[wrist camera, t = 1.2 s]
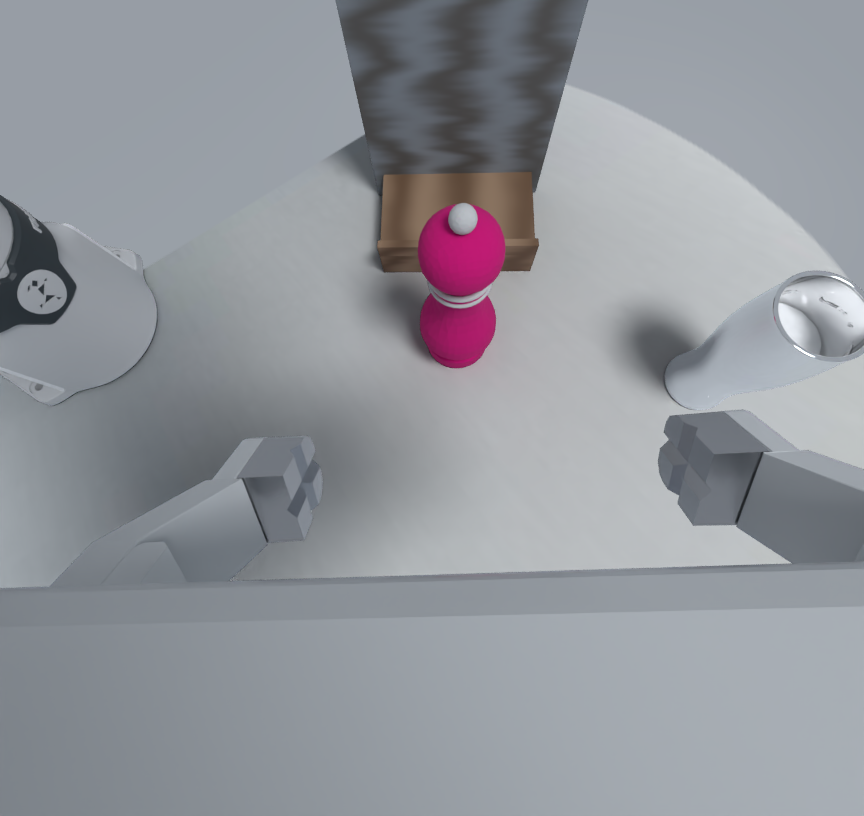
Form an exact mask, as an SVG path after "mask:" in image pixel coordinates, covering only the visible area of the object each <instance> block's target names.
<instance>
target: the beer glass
mask: <svg viewBox="0 0 864 816" xmlns="http://www.w3.org/2000/svg"><path fill="white" fill-rule="evenodd" d="M863 353H864V291H863V290H862V289H860V287H858V286H857V285H856V284H855V283H853V282H852V281H850V280H848V279H847V278H845V277H843V276H840V275H838V274H835V273H831V272H826V271H806V272H802V273H799V274H796V275H794V276H792V277H790V278H788V279H787V280H786V281H784V282H782V283H781V284H779V285H777V286H775V287H773V288H771V289H769V290H768V291H766V292H764V293H762V294H761V295H759V296H757V297H756V298H754V299H752V300H751V301H749V302H748V303H746V304H745V305H743V306H742V307H741V308H739V309H738V310H736V311H735V312H734V313H732V314H731V315H730V316H729V317H728V318H727V319H726V320H725V321H724V322H722V323H721V324H720V325H719V326H718V327H717V329H716V330H715V331H714V332H713V333H712V334H711V335H710V336H709V337H708V338H707V339H706V341H705V342H704V343H703V344H702V345H701V346H699V347H698V348H696V349H694V350H691V351H688V352H685V353H682V354H680V355H678V356H676V357H675V358H673V359H672V360H671V361H670V363H669V364H668V366H667V368H666V371H665V376H664V379H665V385H666V388H667V390H668V392H669V394H670V395H671V397H672V398H673V399H674V400H675V401H676V402H677V403H679V404H680V405H682V406H684V407H686V408H689V409H693V410H707V409H710V408H713V407H715V406H717V405H718V404H719V403H721V402H722V401H723V400H724V399H726V398H728V397H730V396H732V395H736V394H742V393H750V392H757V391H764V390H770V389H774V388H779V387H784V386H787V385H791V384H794V383H797V382H800V381H803V380H806V379H808V378H811V377H813V376H816V375H818V374H820V373H823V372H825V371H827V370H829V369H832V368H834V367H836V366H838V365H840V364H842V363H844V362H846V361H849V360H852V359H855V358H857V357H859V356H860V355H862V354H863Z"/></svg>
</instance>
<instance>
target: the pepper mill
mask: <svg viewBox="0 0 864 816" xmlns="http://www.w3.org/2000/svg"><path fill="white" fill-rule="evenodd" d="M418 260H419V264H420V267H421V270H422V273H423V274H424V276H425V277H426V279H427V282H428V287H429V290H430V292H431V294H430V295H429V296H428V297H427V299H426V301H425V303H424V305H423V308H422V311H421V316H420V330H421V335H422V337H423V339H424V341H425V343H426V344H427V346H428V349H429V351H430V353H431V355H432V356H433V357H434V359H435V360H436V361H438V362H439V363H441V364H442V365H444V366H447V367H451V368H463V367H466V366H470V365H471V364H473V363H475V362H476V361H477V360H478V359H479V358H480V357H481V356H482V354H483V353H484V351H485V348H486V347H487V346H488V345H489V343H490V342H491V340H492V338H493V336H494V332H495V326H496V315H495V310H494V308H493V305H492V303H491V301H490V299H489V297H488V296H487V295H488V293H489V292H490V289H491V287H492V283H493V281H494V280H495V279H496V277H497V276H498V275H499V273H500V271H501V269H502V266H503V263H504V260H505V239H504V235H503V232H502V229H501V227H500V225H499V224H498V222H497V221H496V219H495V218H494V217H493V216H492V215H491V214H490V213H489V212H488V211H486V210H484V209H482V208H480V207H478V206H475V205H472V204H467V203H460V204H454V205H450V206H447V207H445V208H443V209H441V210H439V211H438V212H436V213H435V214H434V215H432V216H431V218H430V219H429V220H428V221H427V222H426V224H425V226H424V228H423V230H422V232H421V234H420V237H419V242H418Z"/></svg>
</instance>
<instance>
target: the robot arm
mask: <svg viewBox="0 0 864 816" xmlns="http://www.w3.org/2000/svg"><path fill="white" fill-rule="evenodd" d="M156 322H157V307H156V302H155V299H154V296H153V294H152V292H151V290H150V288H149V287H148V285H147V283H146V282H145V279H144V277H143V264H142V259H141V257H140V256H139V255H138V254H136V253H134V252H133V251H131V250H128V249H121V248H113V247H106V246H101V245H100V244H99V243H97V242H96V241H94V240H93V239H91V238H90V237H88V236H87V235H85V234H84V233H82V232H81V231H79V230H78V229H77V228H75V227H73V226H71V225H69V224H67V223H64V224H58V223H54V222H40V221H38V220H37V219H35V218H34V217H33V216H32V215H31V214H30V213H28V212H27V211H26V210H24V209H23V208H22V207H20V206H19V205H17V204H16V203H14V202H12V201H10V200H8V199H6V198H4V197H2V196H1V195H0V374H1V375H2V376H3V377H5V378H6V379H8V380H9V381H10V382H12V383H13V384H15V385H16V386H17V387H19V388H20V389H22V390H23V391H24V392H26V393H27V394H29V395H30V396H31V397H33V398H34V399H35V400H37V401H39V402H41V403H44V404H46V405H50V406H51V405H56V404H58V403H60V402H62V401H64V400H65V399H67V398H69V397H70V396H72V395H73V394H75V393H76V392H79V391H81V390H85V389H89V388H94V387H98V386H101V385H104V384H106V383H109V382H111V381H113V380H115V379H117V378H118V377H120V376H121V375H123V374H124V373H126V372H127V371H128V370H129V369H130V368H132V367H133V366H134V365H135V364H136V363H137V362H138V360H139V359H140V358H141V357H142V356H143V354H144V353H145V351H146V350H147V348H148V346H149V344H150V342H151V340H152V338H153V335H154V332H155V328H156ZM42 387H43V388H42ZM664 433H665V435H666V436H667V438H668V439H669V440H668V441H667V442H666V443H665V444H664V445H663V446H662V447H661V448H660V452H659V458H658V466H659V473H660V476H661V479H662V481H663V483H664V484H665V486H666V487H667V489H668V490H670V491H672V492H674V493H676V494H677V495H679V499H678V505H679V506H680V508H681V509H682V510H683V512H684V513H685V515H686V516H687V518H688V519H689V520H690V522H691V523H692V525H693V526H697V525H737V526H736V527H737V528H739V529H740V530H742V531H744V532H745V533H747V534H748V535H750V536H751V537H753V538H754V539H756V540H757V541H759V542H760V543H762V544H763V545H765V546H766V547H768V548H769V549H771V550H772V551H774V552H776V553H777V554H779V555H780V556H782V557H783V558H785V559H786V560H788V561H789V562H791V563H792V564H762V565H729V566H697V567H664V568H631V569H599V570H567V571H537V572H506V573H475V574H443V575H411V576H378V577H346V578H313V579H281V580H249V581H229V580H230V579H231V578H233V577H234V576H235V575H236V574H237V573H238V572H239V571H240V570H241V569H242V568H243V567H244V566H245V565H246V564H248V563H249V562H250V561H251V560H252V559H253V558H254V557H255V556H256V555H257V554H258V553H259V552H260V551H261V550H262V549H264V548H265V547H266V546H267V543H272V542H287V541H302V540H305V538H306V535H307V533H308V530H309V528H310V525H311V523H312V520H313V516H312V513H311V510H312V509H314V508H315V507H316V506H318V505H319V502H320V499H321V497H322V489H323V479H322V472H321V468H320V466H319V465H318V464H317V463H316V462H315V461H313V460H312V458H313V456H314V454H315V451H316V450H315V447H314V444H313V441H312V439H311V438H310V437H309V436H283V437H258V438H247V439H244V440H242V442H241V443H240V444H239V446H238V447H237V448H236V449H235V451H234V452H233V453H232V454H231V456H230V457H229V458H228V460H227V461H226V462H225V463H224V465H223V466H222V467H221V469H220V470H219V471H218V472H217V474H216V475H215V476H214V478H213V479H212V480H205V481H203V482H201V483H199V484H197V485H196V486H194V487H192V488H190V489H188V490H186V491H185V492H183V493H181V494H179V495H177V496H176V497H174V498H172V499H170V500H168V501H167V502H165V503H163V504H161V505H159V506H157V507H156V508H154V509H152V510H150V511H148V512H147V513H145V514H143V515H141V516H139V517H138V518H136V519H134V520H132V521H130V522H128V523H127V524H125V525H123V526H121V527H119V528H118V529H116V530H114V531H112V532H110V533H109V534H107V535H105V536H103V537H101V538H100V539H98V540H96V541H94V542H92V543H91V544H90V545H89V546H88V547H87V548H86V549H85V550H84V551H83V552H82V553H81V555H80V556H79V557H78V558H77V559H76V560H75V561H74V562H73V563H72V564H71V565H70V566H69V567H68V568H67V569H66V570H65V571H64V572H63V573H62V574H61V575H60V576H59V577H58V578H57V579H56V580H55V581H54V582H53V583H52V585H51V586H50V587H22V588H0V816H864V469H861V468H858V467H856V466H853V465H850V464H847V463H844V462H841V461H838V460H835V459H832V458H829V457H827V456H824V455H821V454H818V453H815V452H812V451H809V450H801V451H800V450H799V449H797V448H796V447H795V446H793V445H792V444H791V443H790V442H788V441H787V440H786V439H785V438H783V437H782V436H781V435H779V434H778V433H777V432H776V431H774V430H773V429H772V428H771V427H769V426H768V425H767V424H765V423H764V422H763V421H762V420H760V419H759V418H758V417H756V416H755V415H754V414H753V413H751V412H750V411H747V410H743V409H742V410H731V411H720V412H709V413H697V414H685V415H673V416H669V418H668V420H667V421H666V424H665V428H664Z"/></svg>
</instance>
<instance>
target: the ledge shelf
mask: <svg viewBox="0 0 864 816" xmlns="http://www.w3.org/2000/svg"><path fill="white" fill-rule="evenodd" d="M587 3H588V0H336V4H337V9H338V14H339V18H340V23H341V27H342V31H343V36H344V41H345V45H346V50H347V54H348V59H349V63H350V67H351V72H352V77H353V81H354V85H355V90H356V94H357V99H358V103H359V108H360V112H361V117H362V121H363V126H364V130H365V135H366V139H367V144H368V148H369V153H370V157H371V162H372V166H373V171H374V175H375V180H376V184H377V189H378V193H379V195H383V197H382V219H381V240H380V241H378V245H377V248H378V252H379V255H380V259H381V263H382V266H383V270H384V272H422V270H421V267H420V264H419V260H418V242H419V237H420V234H421V232H422V230H423V228H424V226H425V224H426V222H427V221H428V220H429V219H430V218H431V216H432V215H434V214H435V213H436V212H438V211H439V210H441V209H443V208H445V207H447V206H450V205H454V204H460V203H467V204H472V205H475V206H478V207H480V208H482V209H484V210H486V211H488V212H489V213H490V214H491V215H492V216H493V217H494V218H495V219H496V221H497V222H498V224H499V225H500V227H501V229H502V232H503V235H504V239H505V260H504V263H503V266H502V269H501V271H530V269H531V266H532V264H533V261H534V258H535V255H536V252H537V249H538V246H539V242H538V239H535V233H534V213H533V193H532V192H535V191H536V188H537V184H538V180H539V177H540V173H541V170H542V166H543V162H544V159H545V155H546V151H547V148H548V144H549V141H550V137H551V133H552V130H553V126H554V122H555V119H556V115H557V112H558V108H559V104H560V101H561V97H562V94H563V90H564V86H565V83H566V79H567V75H568V72H569V68H570V64H571V61H572V57H573V54H574V50H575V47H576V42H577V39H578V36H579V32H580V28H581V25H582V21H583V18H584V14H585V10H586V6H587Z"/></svg>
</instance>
